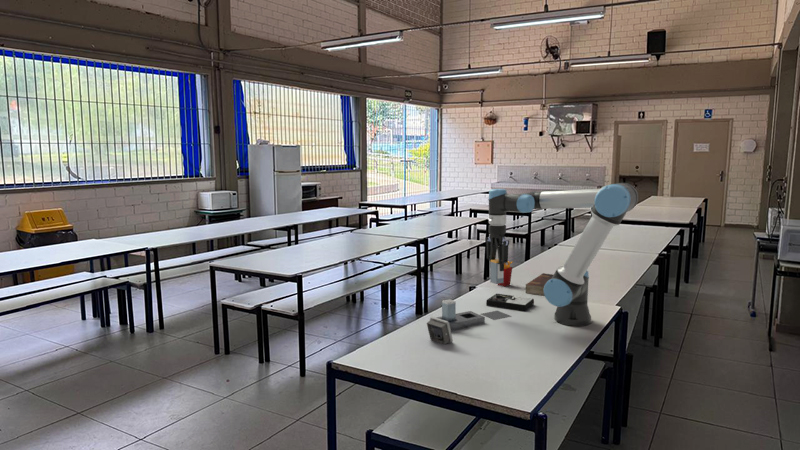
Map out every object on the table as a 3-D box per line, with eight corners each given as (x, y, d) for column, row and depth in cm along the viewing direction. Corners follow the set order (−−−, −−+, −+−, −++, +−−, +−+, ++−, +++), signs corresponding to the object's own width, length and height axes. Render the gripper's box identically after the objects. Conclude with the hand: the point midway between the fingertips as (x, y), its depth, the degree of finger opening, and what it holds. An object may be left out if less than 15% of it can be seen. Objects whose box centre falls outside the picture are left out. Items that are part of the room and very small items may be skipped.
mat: (512, 317, 236) (512, 316, 236) (494, 320, 231) (494, 319, 231) (497, 311, 245) (497, 310, 245) (479, 314, 240) (479, 313, 240)
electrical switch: (453, 342, 206) (451, 320, 204) (444, 347, 202) (442, 324, 200) (435, 336, 212) (433, 314, 210) (426, 341, 209) (424, 319, 207)
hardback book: (562, 299, 266) (562, 289, 265) (525, 293, 275) (525, 284, 275) (577, 286, 290) (577, 277, 289) (542, 281, 300) (543, 273, 299)
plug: (503, 282, 235) (503, 260, 233) (496, 284, 233) (496, 261, 232) (497, 281, 238) (497, 258, 237) (490, 282, 236) (490, 259, 235)
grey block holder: (484, 323, 227) (484, 298, 226) (445, 331, 218) (445, 305, 216) (470, 317, 236) (470, 293, 234) (432, 325, 226) (432, 299, 225)
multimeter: (495, 300, 264) (495, 290, 263) (534, 305, 254) (534, 295, 253) (485, 307, 253) (486, 296, 252) (525, 313, 243) (525, 302, 242)
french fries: (512, 284, 292) (513, 257, 290) (504, 287, 286) (504, 260, 284) (498, 282, 298) (499, 255, 296) (490, 285, 292) (490, 258, 290)
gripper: (478, 223, 238) (478, 274, 241) (503, 227, 223) (503, 282, 226) (491, 221, 241) (491, 272, 244) (517, 225, 227) (516, 279, 230)
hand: (496, 277), depth 235 cm, fingers closed on plug, 4 cm apart
